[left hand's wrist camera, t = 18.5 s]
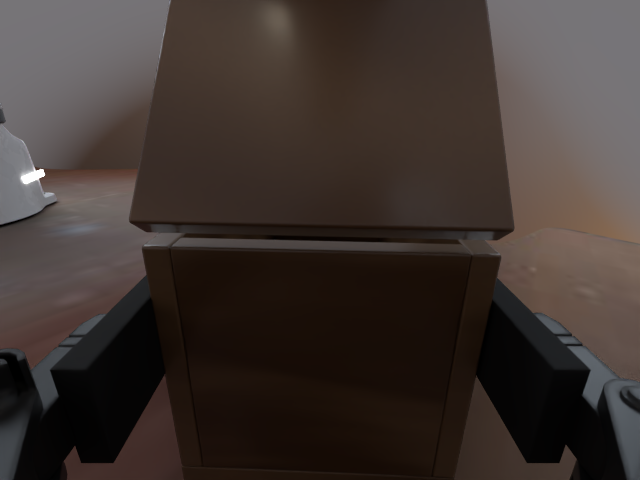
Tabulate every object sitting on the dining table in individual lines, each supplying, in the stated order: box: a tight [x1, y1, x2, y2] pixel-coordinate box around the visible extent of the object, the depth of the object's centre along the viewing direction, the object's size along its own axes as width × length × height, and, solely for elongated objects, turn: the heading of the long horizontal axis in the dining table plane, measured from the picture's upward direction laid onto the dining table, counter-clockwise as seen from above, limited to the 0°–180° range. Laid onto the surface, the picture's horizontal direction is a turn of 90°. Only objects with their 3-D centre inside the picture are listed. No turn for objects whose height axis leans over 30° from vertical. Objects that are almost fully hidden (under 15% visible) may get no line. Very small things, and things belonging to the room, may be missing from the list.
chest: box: [142, 233, 501, 480], centre depth 19 cm, size 18×10×9 cm, turn 178°
